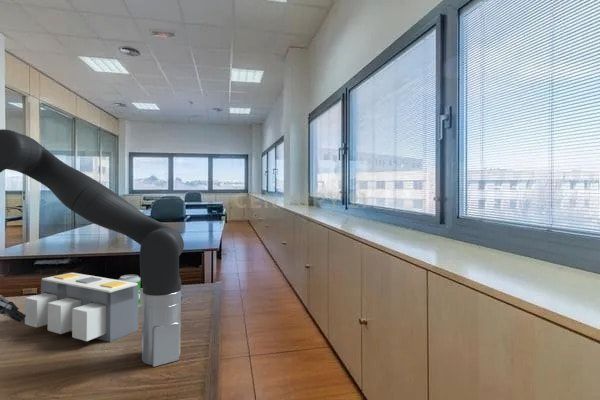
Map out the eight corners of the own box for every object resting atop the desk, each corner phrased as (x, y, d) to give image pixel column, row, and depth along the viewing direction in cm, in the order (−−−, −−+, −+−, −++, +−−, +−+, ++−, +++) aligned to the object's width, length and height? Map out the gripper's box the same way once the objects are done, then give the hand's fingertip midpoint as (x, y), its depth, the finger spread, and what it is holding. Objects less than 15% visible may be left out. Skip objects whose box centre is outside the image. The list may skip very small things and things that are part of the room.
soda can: (133, 313, 120) (134, 279, 119) (112, 312, 120) (113, 278, 120) (144, 306, 127) (144, 274, 127) (124, 305, 127) (124, 273, 127)
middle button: (60, 334, 96) (60, 305, 96) (47, 330, 99) (47, 302, 99) (91, 323, 105) (91, 297, 105) (78, 320, 107) (78, 294, 107)
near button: (86, 341, 92) (86, 311, 92) (72, 337, 94) (72, 308, 94) (116, 329, 100) (116, 302, 100) (102, 326, 103) (102, 299, 103)
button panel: (110, 342, 96) (110, 289, 96) (40, 323, 109) (41, 277, 109) (138, 330, 105) (138, 282, 105) (70, 314, 118) (71, 271, 118)
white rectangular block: (37, 327, 101) (37, 300, 101) (24, 324, 103) (25, 297, 103) (68, 317, 109) (68, 292, 109) (56, 314, 111) (56, 290, 111)
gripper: (-5, 277, 88) (46, 310, 99) (-32, 272, 93) (19, 303, 105) (-32, 303, 83) (25, 335, 95) (-59, 296, 88) (-2, 327, 100)
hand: (21, 318), depth 100 cm, fingers closed
